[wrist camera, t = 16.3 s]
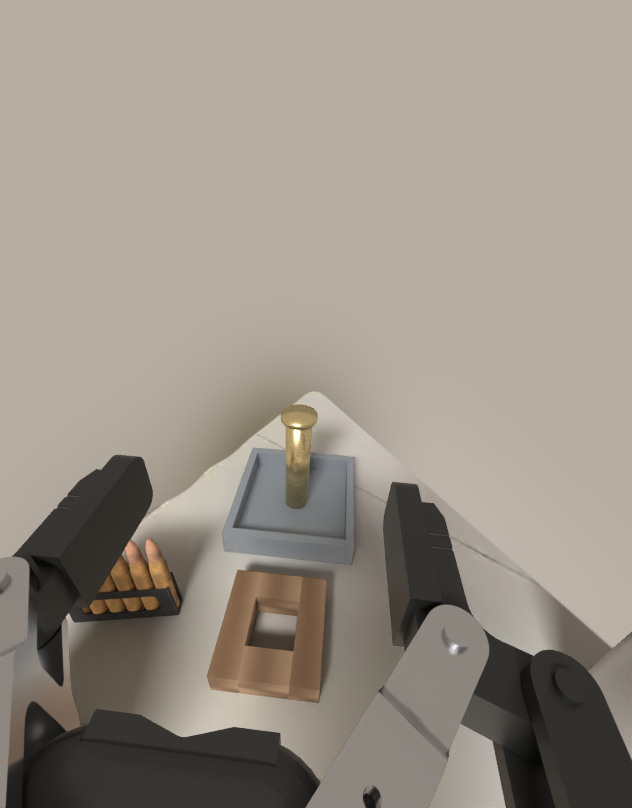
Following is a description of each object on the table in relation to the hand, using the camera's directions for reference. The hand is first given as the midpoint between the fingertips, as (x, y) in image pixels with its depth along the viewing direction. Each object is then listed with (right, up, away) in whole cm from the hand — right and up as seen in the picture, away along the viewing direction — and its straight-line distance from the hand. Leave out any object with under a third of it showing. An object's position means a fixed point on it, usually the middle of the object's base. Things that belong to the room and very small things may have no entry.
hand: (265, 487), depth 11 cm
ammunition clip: (-19, -20, +27) cm, 38 cm away
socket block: (-3, -22, +25) cm, 33 cm away
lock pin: (-1, -11, +39) cm, 41 cm away
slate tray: (-1, -12, +40) cm, 41 cm away
